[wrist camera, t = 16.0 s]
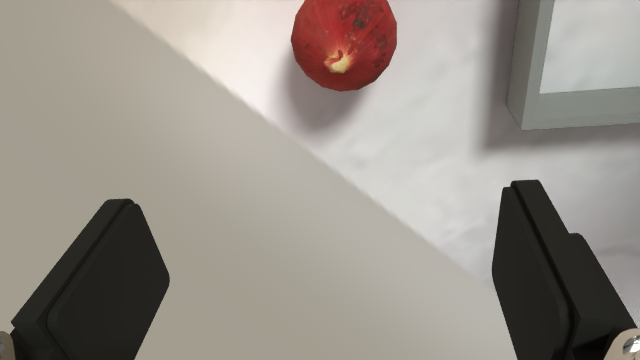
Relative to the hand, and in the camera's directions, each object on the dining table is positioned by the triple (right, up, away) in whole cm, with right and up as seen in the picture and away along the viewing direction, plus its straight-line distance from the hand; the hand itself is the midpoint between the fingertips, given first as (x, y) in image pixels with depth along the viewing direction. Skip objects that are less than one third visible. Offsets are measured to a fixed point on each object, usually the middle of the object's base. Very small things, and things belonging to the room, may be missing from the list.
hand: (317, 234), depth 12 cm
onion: (+2, +12, +17) cm, 20 cm away
